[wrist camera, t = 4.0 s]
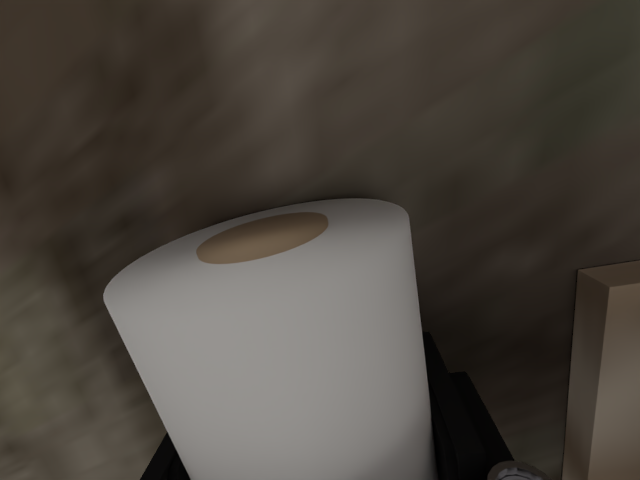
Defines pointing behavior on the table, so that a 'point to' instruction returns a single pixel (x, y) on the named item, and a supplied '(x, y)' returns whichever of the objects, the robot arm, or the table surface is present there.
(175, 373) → the paper roll
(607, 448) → the roll cradle
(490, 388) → the table surface
